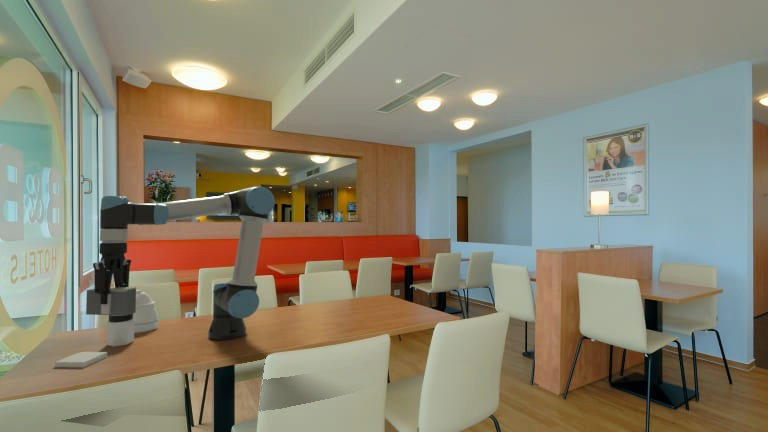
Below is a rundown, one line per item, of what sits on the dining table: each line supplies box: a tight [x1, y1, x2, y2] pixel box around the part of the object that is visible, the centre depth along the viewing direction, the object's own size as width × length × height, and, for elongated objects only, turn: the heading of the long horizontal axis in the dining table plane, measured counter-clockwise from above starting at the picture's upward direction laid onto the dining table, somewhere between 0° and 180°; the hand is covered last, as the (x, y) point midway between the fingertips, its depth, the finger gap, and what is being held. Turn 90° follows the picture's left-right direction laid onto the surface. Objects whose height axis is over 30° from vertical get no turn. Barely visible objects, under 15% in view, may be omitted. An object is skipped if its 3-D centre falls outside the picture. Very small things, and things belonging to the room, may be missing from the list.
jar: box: [106, 314, 135, 348], centre depth 149 cm, size 9×8×12 cm
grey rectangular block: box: [85, 286, 137, 316], centre depth 123 cm, size 14×4×8 cm, turn 86°
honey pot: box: [133, 289, 160, 334], centre depth 170 cm, size 13×13×18 cm
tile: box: [54, 351, 108, 368], centre depth 129 cm, size 2×10×10 cm
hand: (111, 312), depth 123 cm, fingers closed on grey rectangular block, 4 cm apart
